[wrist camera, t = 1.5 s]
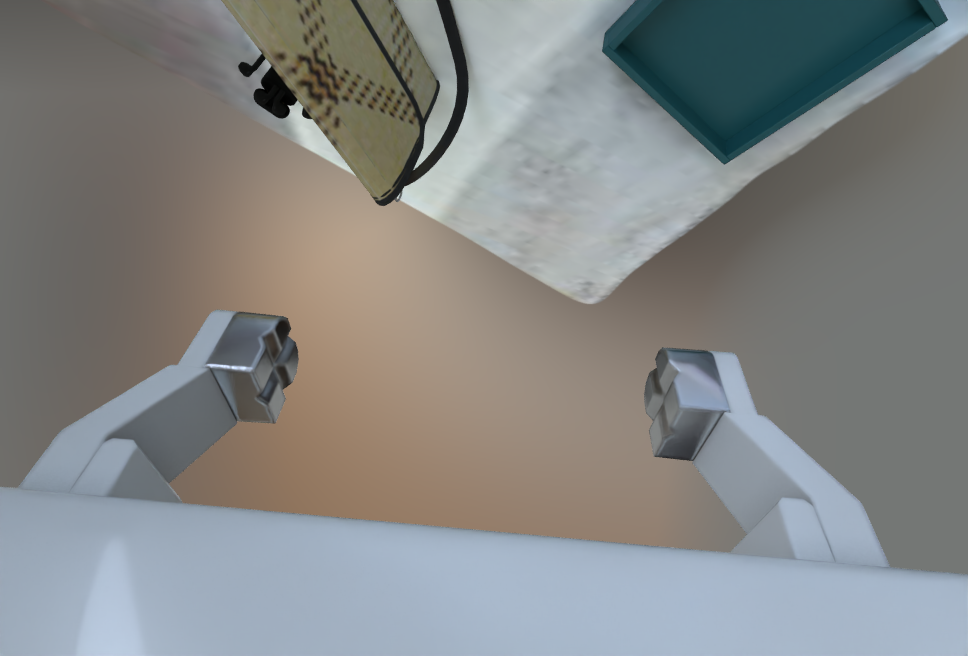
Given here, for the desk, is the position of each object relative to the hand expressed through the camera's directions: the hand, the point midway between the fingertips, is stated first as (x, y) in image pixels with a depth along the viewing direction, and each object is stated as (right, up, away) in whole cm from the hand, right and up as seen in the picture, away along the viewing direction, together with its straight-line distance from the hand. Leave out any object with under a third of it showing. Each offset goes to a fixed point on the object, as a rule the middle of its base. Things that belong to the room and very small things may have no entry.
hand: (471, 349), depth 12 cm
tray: (+19, +22, +25) cm, 38 cm away
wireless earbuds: (-17, +24, +37) cm, 47 cm away
